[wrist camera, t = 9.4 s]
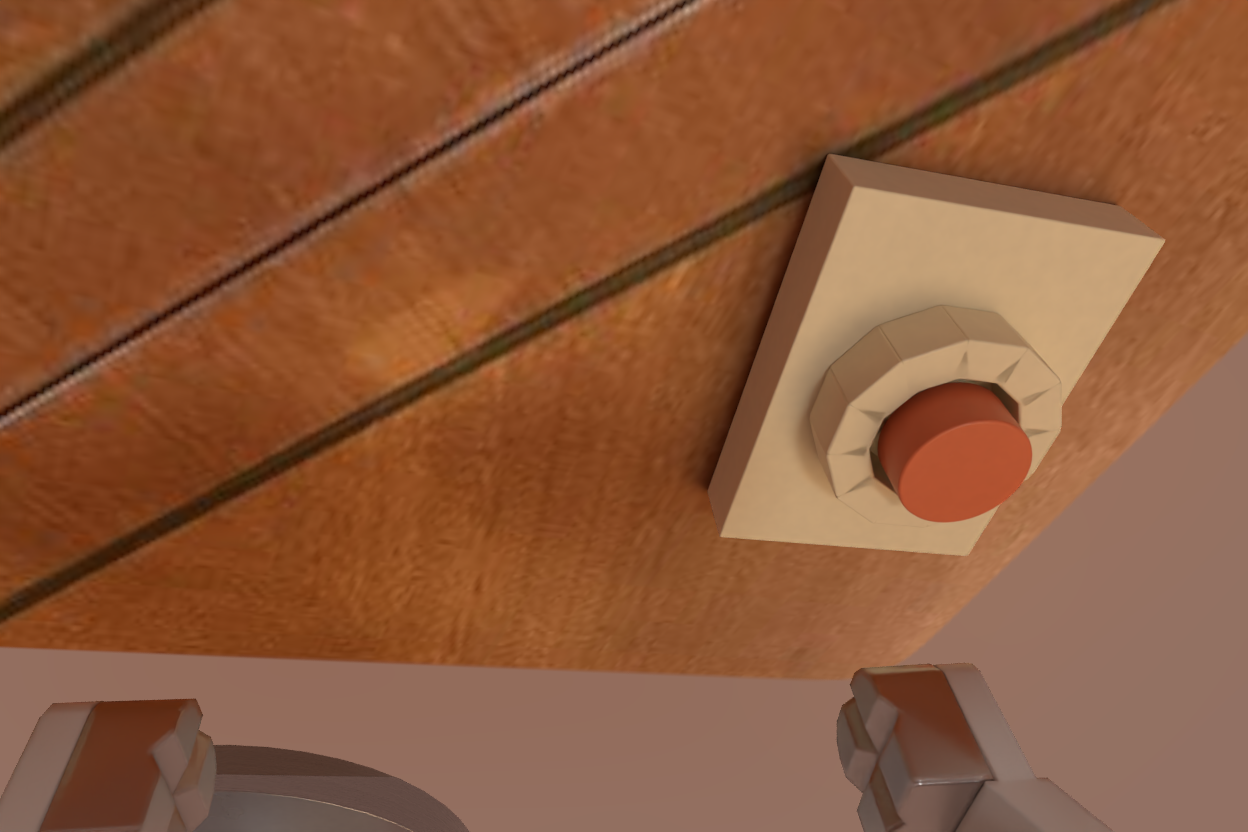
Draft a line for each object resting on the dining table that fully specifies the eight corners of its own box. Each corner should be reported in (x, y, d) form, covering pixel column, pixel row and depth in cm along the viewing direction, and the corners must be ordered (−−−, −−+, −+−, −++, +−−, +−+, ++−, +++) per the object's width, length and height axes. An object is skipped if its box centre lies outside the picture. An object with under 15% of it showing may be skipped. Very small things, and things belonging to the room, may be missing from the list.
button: (969, 486, 26) (995, 528, 24) (857, 475, 25) (877, 518, 24) (1027, 388, 24) (1058, 428, 22) (907, 373, 23) (932, 413, 22)
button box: (942, 512, 32) (991, 597, 28) (706, 491, 30) (730, 579, 27) (1120, 205, 25) (1210, 272, 22) (827, 152, 23) (878, 217, 20)
